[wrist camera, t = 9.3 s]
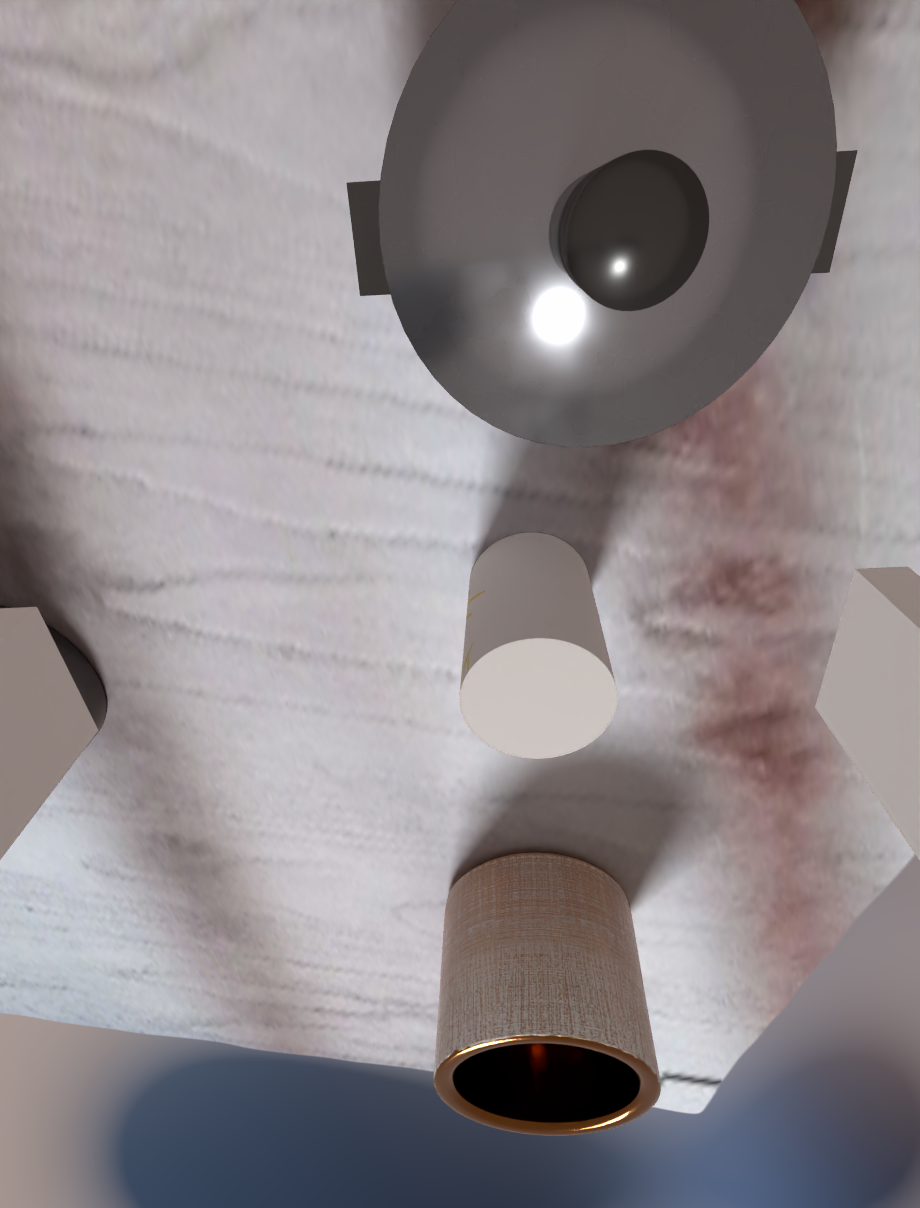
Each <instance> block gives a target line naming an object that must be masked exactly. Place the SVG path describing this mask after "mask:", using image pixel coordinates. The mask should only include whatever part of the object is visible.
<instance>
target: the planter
mask: <svg viewBox="0 0 920 1208" xmlns="http://www.w3.org/2000/svg"><path fill="white" fill-rule="evenodd" d="M434 1086H435V1089H436V1091H437V1093H438V1095H439V1096H440V1098H441V1099H442V1100H443V1101H444V1102H445V1103H446V1104H447V1105H448V1106H449V1107H450V1108H452V1109H453V1110H455V1111H456V1112H458V1113H459V1114H461V1115H463V1116H465V1117H467V1118H469V1119H471V1120H474V1121H476V1122H479V1123H481V1124H484V1125H487V1126H491V1127H494V1128H498V1129H502V1130H506V1131H511V1132H517V1133H524V1134H534V1135H552V1136H559V1135H560V1136H562V1135H579V1134H587V1133H594V1132H599V1131H604V1130H608V1129H612V1128H615V1127H618V1126H621V1125H624V1124H626V1123H629V1122H631V1121H633V1120H635V1119H637V1118H639V1117H641V1116H642V1115H644V1114H645V1113H646V1112H648V1111H649V1110H650V1109H651V1108H652V1107H653V1106H654V1105H655V1103H656V1102H657V1100H658V1098H659V1096H660V1091H661V1084H660V1077H659V1071H658V1066H657V1060H656V1054H655V1049H654V1043H653V1038H652V1032H651V1027H650V1021H649V1015H648V1009H647V1004H646V998H645V992H644V986H643V980H642V974H641V968H640V962H639V956H638V950H637V944H636V938H635V932H634V926H633V921H632V915H631V911H630V907H629V903H628V900H627V898H626V895H625V893H624V891H623V890H622V888H621V887H620V885H619V884H618V883H617V882H616V881H615V880H614V879H613V878H612V877H610V876H609V875H608V874H607V873H605V872H604V871H602V870H601V869H599V868H597V867H595V866H593V865H591V864H589V863H586V862H584V861H581V860H579V859H576V858H572V857H568V856H564V855H558V854H552V853H518V854H512V855H507V856H503V857H499V858H495V859H492V860H489V861H487V862H485V863H483V864H481V865H479V866H477V867H475V868H473V869H471V870H470V871H468V872H467V873H466V874H464V875H463V876H462V877H461V878H460V879H459V880H458V881H457V882H456V883H455V885H454V886H453V887H452V889H451V891H450V893H449V896H448V899H447V903H446V908H445V917H444V931H443V946H442V963H441V979H440V995H439V1010H438V1025H437V1039H436V1052H435V1065H434Z"/></svg>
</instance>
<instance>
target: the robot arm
mask: <svg viewBox="0 0 920 1208" xmlns="http://www.w3.org/2000/svg"><path fill="white" fill-rule="evenodd" d="M815 708H816V709H817V711H818V712H819V714H820V715H821V717H822V718H823V720H824V721H825V723H826V724H827V726H828V727H829V728H830V730H831V731H832V733H833V734H834V736H835V737H836V739H837V740H838V742H839V743H840V745H841V746H842V747H843V749H844V750H845V752H846V753H847V755H848V756H849V758H850V759H851V761H852V762H853V764H854V765H855V766H856V768H857V769H858V771H859V772H860V774H861V775H862V777H863V778H864V780H865V781H866V783H867V784H868V786H869V787H870V788H871V790H872V791H873V793H874V794H875V796H876V797H877V799H878V800H879V802H880V803H881V805H882V806H883V807H884V809H885V810H886V812H887V813H888V815H889V816H890V818H891V819H892V821H893V822H894V824H895V825H896V826H897V828H898V829H899V831H900V832H901V834H902V835H903V837H904V838H905V840H906V841H907V843H908V844H909V846H910V847H911V848H912V850H913V851H914V853H915V854H916V856H917V857H918V858H919V860H920V576H919V575H917V574H916V573H915V572H914V571H912V570H911V569H910V568H909V567H889V568H867V569H855V572H854V576H853V579H852V582H851V586H850V589H849V593H848V596H847V600H846V603H845V606H844V610H843V613H842V617H841V620H840V624H839V627H838V631H837V634H836V637H835V641H834V644H833V648H832V651H831V655H830V658H829V662H828V665H827V668H826V672H825V675H824V679H823V682H822V686H821V689H820V692H819V696H818V699H817V703H816V706H815ZM105 716H106V698H105V693H104V690H103V687H102V685H101V682H100V680H99V678H98V676H97V674H96V673H95V671H94V670H93V668H92V667H91V665H90V664H89V663H88V661H87V660H86V659H85V658H84V656H83V655H82V654H81V653H80V652H79V651H78V650H77V649H76V648H75V647H74V646H73V645H72V644H71V643H69V642H68V641H67V640H66V639H65V638H63V637H62V636H61V635H59V634H58V633H57V632H55V631H54V630H52V629H51V628H49V627H47V626H46V624H45V622H44V620H43V618H42V616H41V614H40V612H39V610H38V608H37V607H22V608H5V607H1V606H0V860H1V858H2V857H3V856H4V854H5V853H6V852H7V850H8V849H9V848H10V846H11V845H12V844H13V842H14V841H15V840H16V838H17V837H18V836H19V835H20V833H21V832H22V831H23V829H24V828H25V827H26V825H27V824H28V823H29V821H30V820H31V819H32V817H33V816H34V815H35V813H36V812H37V811H38V810H39V808H40V807H41V806H42V804H43V803H44V802H45V800H46V799H47V798H48V796H49V795H50V794H51V792H52V791H53V790H54V788H55V787H56V786H57V785H58V783H59V782H60V781H61V779H62V778H63V777H64V775H65V774H66V773H67V771H68V770H69V769H70V767H71V766H72V765H73V763H74V762H75V761H76V760H77V758H78V757H79V756H80V754H81V753H82V752H83V750H84V749H85V748H86V747H87V746H88V744H89V743H90V742H91V741H92V739H93V738H94V737H95V736H96V734H97V733H98V732H99V730H100V729H101V727H102V725H103V723H104V720H105Z"/></svg>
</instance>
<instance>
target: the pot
mask: <svg viewBox="0 0 920 1208" xmlns="http://www.w3.org/2000/svg"><path fill="white" fill-rule="evenodd" d="M856 155H857V150H855V151H839V152H836V172H835V185H834V191H833V197H832V203H831V209H830V215H829V219H828V223H827V227H826V230H825V234H824V238H823V241H822V245H821V248H820V252H819V254H818V257H817V259H816V262H815V264H814V267H813V269H812V272H811V273H828V272H830V267H831V263H832V259H833V254H834V250H835V246H836V241H837V237H838V233H839V228H840V224H841V220H842V215H843V211H844V207H845V202H846V198H847V194H848V189H849V185H850V181H851V176H852V172H853V168H854V163H855V159H856ZM347 190H348V198H349V207H350V215H351V223H352V232H353V240H354V248H355V257H356V265H357V273H358V281H359V290H360V296H367V295H387V294H391V293H390V290H389V286H388V283H387V279H386V275H385V270H384V264H383V257H382V251H381V245H380V228H379V196H380V181H367V182H351V183H347Z"/></svg>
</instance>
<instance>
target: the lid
mask: <svg viewBox="0 0 920 1208" xmlns="http://www.w3.org/2000/svg"><path fill="white" fill-rule="evenodd" d="M836 151H837V140H836V127H835V113H834V105H833V100H832V95H831V90H830V85H829V80H828V75H827V71H826V68H825V65H824V62H823V60H822V57H821V54H820V51H819V48H818V45H817V43H816V40H815V37H814V35H813V33H812V31H811V29H810V27H809V26H808V24H807V22H806V20H805V18H804V16H803V14H802V12H801V11H800V9H799V7H798V5H797V4H796V2H795V1H794V0H458V1H457V2H456V3H455V4H454V6H453V7H452V8H451V10H450V11H449V12H448V14H447V15H446V16H445V18H444V19H443V20H442V22H441V23H440V24H439V26H438V27H437V28H436V30H435V31H434V32H433V34H432V35H431V37H430V39H429V40H428V42H427V44H426V46H425V47H424V49H423V51H422V53H421V54H420V56H419V58H418V60H417V61H416V63H415V65H414V67H413V69H412V71H411V73H410V76H409V78H408V80H407V83H406V85H405V87H404V90H403V92H402V94H401V97H400V99H399V102H398V104H397V107H396V111H395V114H394V118H393V121H392V124H391V128H390V131H389V135H388V138H387V143H386V149H385V154H384V160H383V166H382V171H381V180H380V196H379V228H380V245H381V251H382V257H383V264H384V270H385V275H386V279H387V283H388V286H389V290H390V293H391V297H392V301H393V304H394V307H395V309H396V311H397V314H398V316H399V319H400V321H401V324H402V326H403V329H404V331H405V333H406V335H407V337H408V338H409V340H410V342H411V344H412V346H413V347H414V349H415V351H416V353H417V355H418V356H419V358H420V359H421V360H422V362H423V363H424V364H425V366H426V367H427V369H428V370H429V371H430V373H431V374H432V375H433V377H434V378H435V379H436V380H437V381H438V382H439V383H440V384H441V385H442V387H443V388H444V389H445V390H446V391H447V392H448V393H449V394H450V395H451V396H452V397H453V398H454V399H456V400H457V401H458V402H459V403H460V404H462V405H463V406H464V407H465V408H466V409H468V410H469V411H470V412H471V413H473V414H475V415H476V416H478V417H479V418H481V419H483V420H484V421H486V422H487V423H489V424H491V425H492V426H494V427H496V428H499V429H501V430H503V431H505V432H508V433H510V434H512V435H514V436H517V437H520V438H524V439H527V440H530V441H534V442H537V443H542V444H549V445H555V446H561V447H596V446H607V445H614V444H618V443H623V442H627V441H632V440H636V439H639V438H642V437H645V436H648V435H651V434H654V433H656V432H659V431H662V430H664V429H666V428H668V427H670V426H672V425H674V424H676V423H678V422H680V421H682V420H684V419H686V418H688V417H689V416H691V415H693V414H694V413H696V412H697V411H699V410H700V409H702V408H704V407H705V406H707V405H708V404H710V403H711V402H712V401H714V400H715V399H716V398H717V397H719V396H720V395H721V394H722V393H724V392H725V391H726V390H727V389H729V388H730V387H731V386H732V385H733V384H734V383H735V382H736V381H737V380H738V379H739V378H740V377H741V376H742V375H743V374H744V373H745V372H746V371H747V370H748V369H749V368H750V367H751V366H753V365H754V363H755V362H756V361H757V360H758V358H759V357H760V356H761V355H762V354H763V352H764V351H765V350H766V349H767V347H768V346H769V345H770V344H771V343H772V341H773V340H774V339H775V337H776V336H777V334H778V333H779V331H780V330H781V328H782V327H783V325H784V324H785V322H786V321H787V319H788V317H789V316H790V314H791V313H792V311H793V309H794V307H795V305H796V303H797V301H798V300H799V298H800V296H801V294H802V292H803V290H804V288H805V286H806V284H807V282H808V279H809V277H810V274H811V272H812V269H813V267H814V264H815V262H816V259H817V257H818V254H819V252H820V248H821V245H822V241H823V238H824V234H825V230H826V227H827V223H828V219H829V215H830V209H831V203H832V197H833V191H834V185H835V172H836Z"/></svg>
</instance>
